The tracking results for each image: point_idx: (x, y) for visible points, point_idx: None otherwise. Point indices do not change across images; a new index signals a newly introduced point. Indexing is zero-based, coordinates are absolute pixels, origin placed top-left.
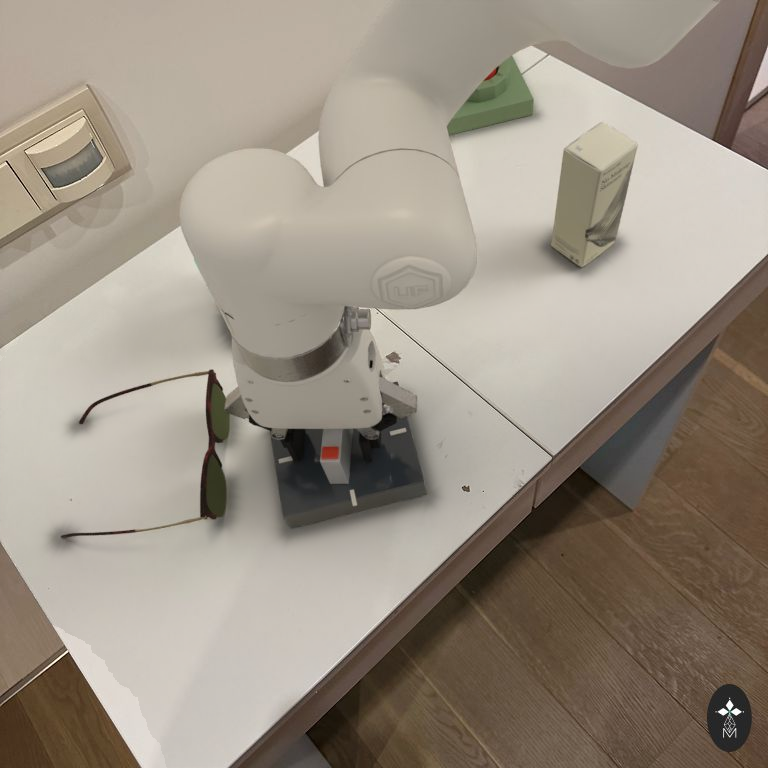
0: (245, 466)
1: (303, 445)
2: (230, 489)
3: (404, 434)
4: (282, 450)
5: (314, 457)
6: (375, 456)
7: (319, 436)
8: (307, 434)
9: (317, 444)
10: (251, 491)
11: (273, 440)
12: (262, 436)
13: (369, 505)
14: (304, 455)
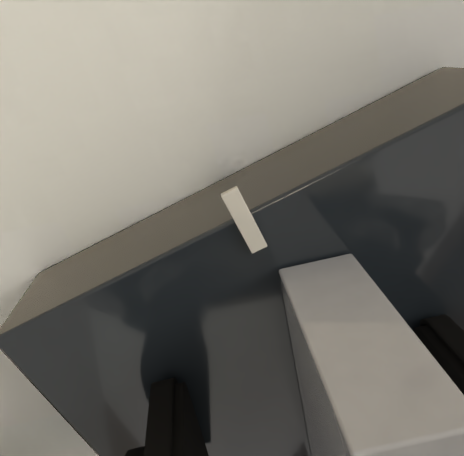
0: (12, 391)
1: (199, 432)
2: (7, 448)
3: None
4: (125, 441)
5: (245, 436)
6: None
7: (239, 372)
8: (192, 376)
9: (241, 398)
10: (66, 439)
11: (75, 421)
12: (10, 304)
13: None
14: (209, 438)
